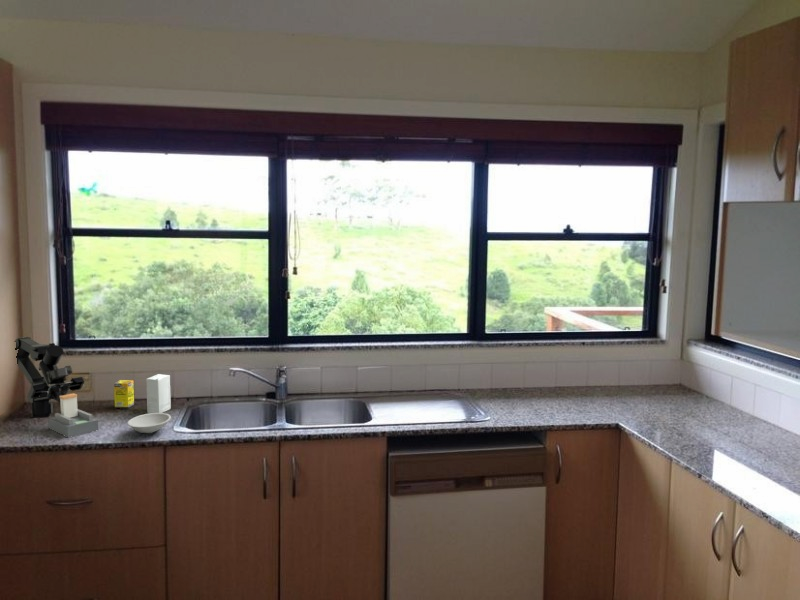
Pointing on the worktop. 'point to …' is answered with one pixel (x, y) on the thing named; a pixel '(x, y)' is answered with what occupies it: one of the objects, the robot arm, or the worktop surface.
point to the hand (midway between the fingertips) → (65, 404)
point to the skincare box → (158, 393)
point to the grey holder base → (73, 424)
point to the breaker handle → (69, 405)
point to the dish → (149, 422)
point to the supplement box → (124, 394)
